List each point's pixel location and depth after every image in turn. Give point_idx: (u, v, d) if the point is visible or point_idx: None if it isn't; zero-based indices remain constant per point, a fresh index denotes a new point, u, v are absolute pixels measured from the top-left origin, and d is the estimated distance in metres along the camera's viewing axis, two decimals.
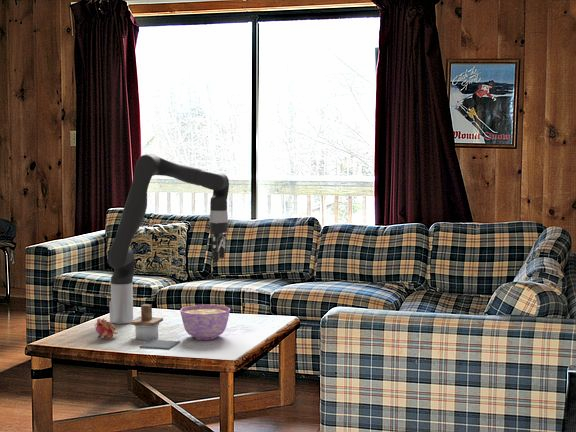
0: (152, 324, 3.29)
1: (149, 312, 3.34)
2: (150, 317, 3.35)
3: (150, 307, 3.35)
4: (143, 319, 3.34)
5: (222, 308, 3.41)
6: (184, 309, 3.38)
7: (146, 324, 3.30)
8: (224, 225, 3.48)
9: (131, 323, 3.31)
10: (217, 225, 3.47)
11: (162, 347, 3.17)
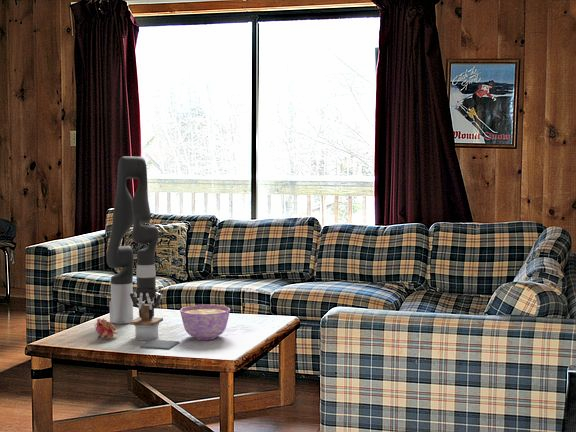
0: (152, 324, 3.29)
1: None
2: None
3: None
4: (143, 319, 3.34)
5: (222, 308, 3.41)
6: (184, 309, 3.38)
7: (145, 323, 3.30)
8: None
9: (131, 323, 3.31)
10: (155, 279, 3.34)
11: (162, 347, 3.17)
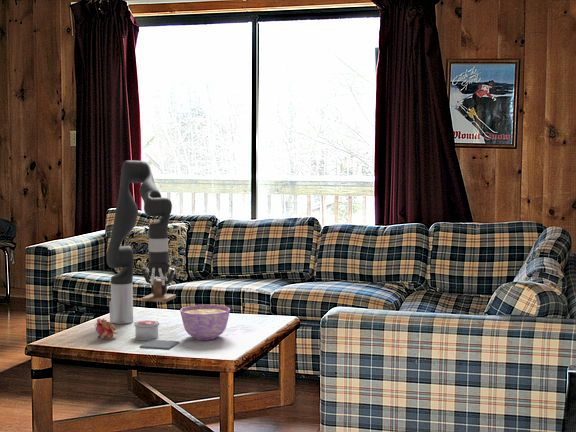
0: (165, 300, 3.15)
1: None
2: None
3: None
4: (155, 295, 3.20)
5: (222, 308, 3.41)
6: (184, 309, 3.38)
7: (158, 300, 3.16)
8: None
9: (143, 299, 3.18)
10: None
11: (162, 347, 3.17)
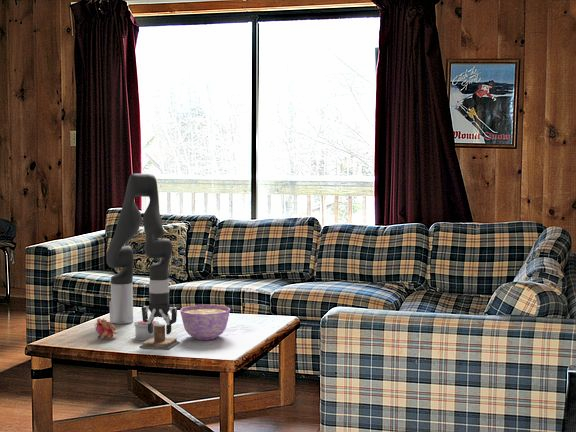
0: (166, 345, 3.17)
1: (162, 333, 3.21)
2: (163, 338, 3.23)
3: (164, 327, 3.23)
4: (156, 340, 3.21)
5: (222, 308, 3.41)
6: (184, 309, 3.38)
7: (159, 345, 3.18)
8: None
9: (144, 344, 3.19)
10: (168, 294, 3.21)
11: (162, 347, 3.17)
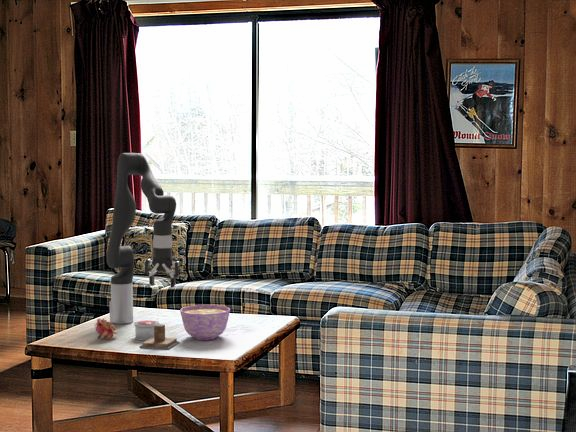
0: (166, 345, 3.17)
1: (162, 333, 3.21)
2: (163, 338, 3.23)
3: (164, 327, 3.23)
4: (156, 340, 3.21)
5: (222, 308, 3.41)
6: (184, 309, 3.38)
7: (159, 345, 3.18)
8: None
9: (144, 344, 3.19)
10: (171, 250, 3.31)
11: (162, 347, 3.17)
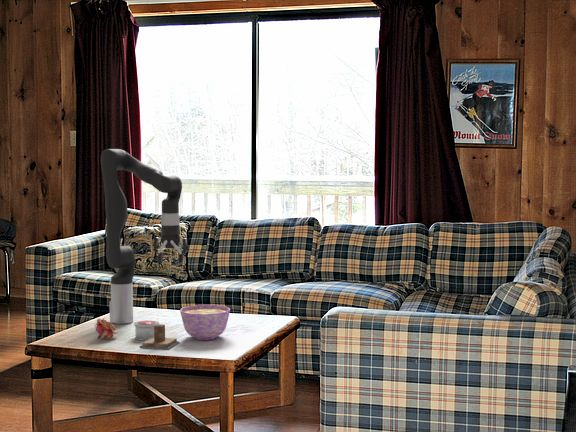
0: (166, 345, 3.17)
1: (162, 333, 3.21)
2: (163, 338, 3.23)
3: (164, 327, 3.23)
4: (156, 340, 3.21)
5: (222, 308, 3.41)
6: (184, 309, 3.38)
7: (159, 345, 3.18)
8: None
9: (144, 344, 3.19)
10: (179, 227, 3.47)
11: (162, 347, 3.17)
